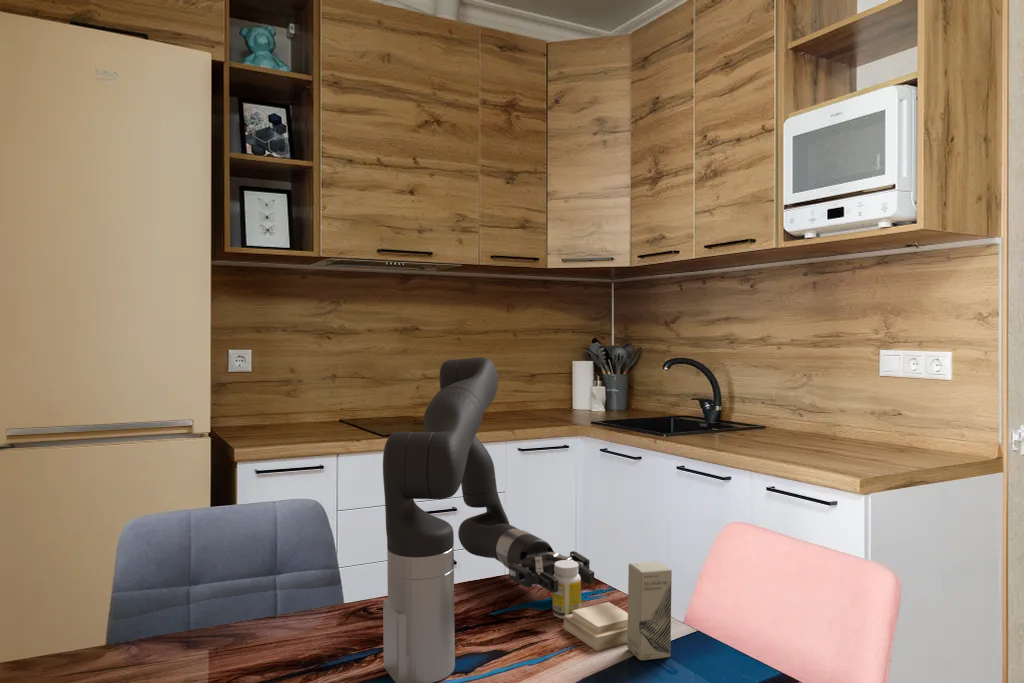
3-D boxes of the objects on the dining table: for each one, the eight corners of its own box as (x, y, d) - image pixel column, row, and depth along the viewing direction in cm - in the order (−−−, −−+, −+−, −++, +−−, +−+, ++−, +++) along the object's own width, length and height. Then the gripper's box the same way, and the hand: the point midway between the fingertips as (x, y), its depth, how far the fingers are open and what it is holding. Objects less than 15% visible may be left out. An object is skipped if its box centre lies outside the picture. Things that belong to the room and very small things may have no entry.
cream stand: (596, 651, 104) (596, 630, 104) (563, 628, 112) (563, 609, 112) (645, 637, 109) (645, 618, 109) (609, 616, 117) (609, 598, 117)
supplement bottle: (581, 608, 120) (581, 559, 120) (581, 620, 115) (581, 569, 115) (553, 607, 121) (552, 558, 120) (551, 619, 116) (551, 568, 116)
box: (639, 662, 101) (639, 572, 101) (626, 648, 105) (626, 562, 105) (673, 657, 102) (673, 568, 102) (658, 644, 107) (658, 559, 106)
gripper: (489, 539, 127) (536, 567, 112) (557, 527, 134) (610, 552, 119) (489, 581, 127) (536, 614, 112) (557, 567, 134) (610, 597, 119)
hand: (574, 582), depth 116 cm, fingers open, 6 cm apart
